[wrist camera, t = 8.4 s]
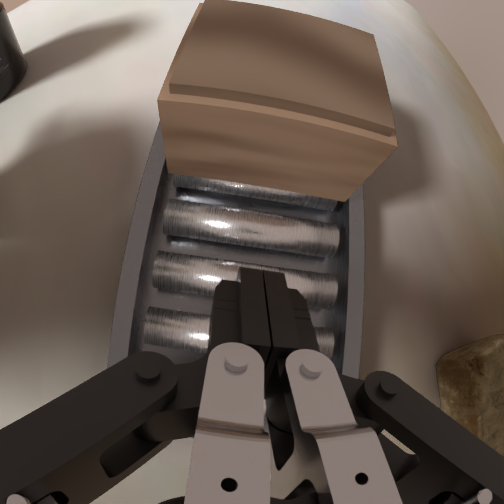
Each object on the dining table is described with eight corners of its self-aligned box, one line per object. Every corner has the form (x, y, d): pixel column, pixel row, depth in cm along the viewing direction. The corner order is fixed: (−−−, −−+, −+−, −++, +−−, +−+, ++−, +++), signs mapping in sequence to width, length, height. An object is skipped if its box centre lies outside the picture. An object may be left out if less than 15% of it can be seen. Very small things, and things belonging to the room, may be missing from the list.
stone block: (476, 333, 21) (521, 326, 16) (486, 449, 18) (525, 458, 14) (428, 357, 20) (476, 357, 15) (440, 482, 17) (480, 499, 12)
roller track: (330, 438, 17) (387, 474, 11) (116, 419, 16) (74, 455, 9) (341, 113, 24) (376, 55, 17) (182, 85, 23) (181, 15, 16)
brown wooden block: (344, 201, 18) (404, 139, 12) (168, 173, 17) (156, 89, 11) (340, 101, 20) (378, 33, 14) (196, 74, 19) (200, -6, 13)
